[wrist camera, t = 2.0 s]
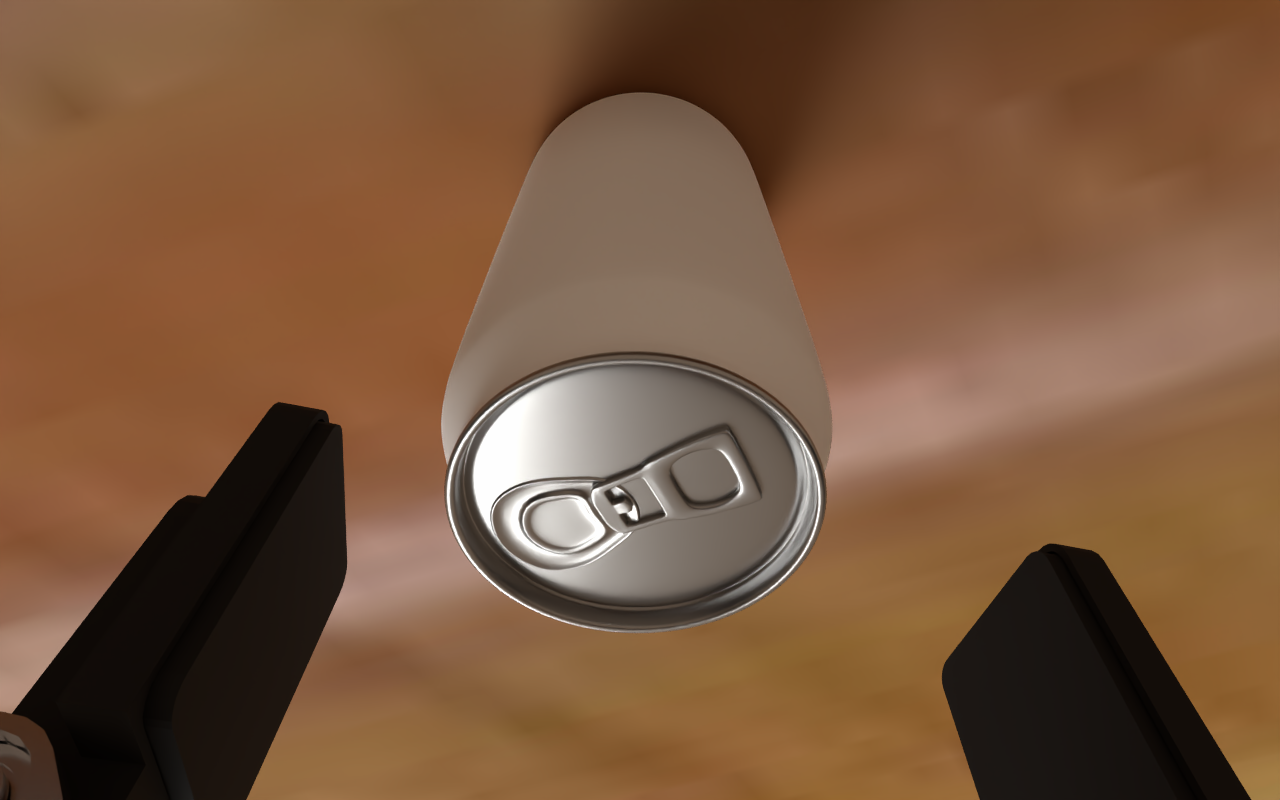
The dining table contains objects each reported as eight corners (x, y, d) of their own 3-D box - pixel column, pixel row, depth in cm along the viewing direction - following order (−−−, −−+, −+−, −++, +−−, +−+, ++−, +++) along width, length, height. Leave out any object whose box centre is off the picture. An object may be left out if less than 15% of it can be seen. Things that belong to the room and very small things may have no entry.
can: (480, 153, 20) (317, 432, 10) (704, 40, 18) (769, 243, 8) (592, 341, 23) (551, 685, 13) (789, 260, 21) (906, 587, 12)
